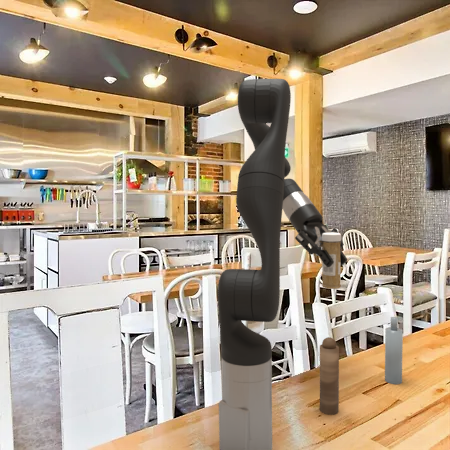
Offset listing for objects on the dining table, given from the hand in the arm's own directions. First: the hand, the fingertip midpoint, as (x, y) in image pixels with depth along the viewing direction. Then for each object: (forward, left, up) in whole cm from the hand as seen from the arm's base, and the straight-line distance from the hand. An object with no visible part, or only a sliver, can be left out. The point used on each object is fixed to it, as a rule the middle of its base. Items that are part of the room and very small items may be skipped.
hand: (337, 263), depth 103 cm
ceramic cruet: (+10, -10, -30) cm, 33 cm away
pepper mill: (-13, -4, -30) cm, 33 cm away
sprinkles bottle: (+1, +2, -6) cm, 7 cm away
